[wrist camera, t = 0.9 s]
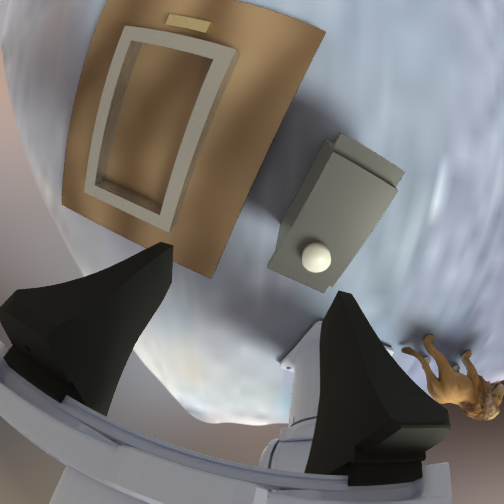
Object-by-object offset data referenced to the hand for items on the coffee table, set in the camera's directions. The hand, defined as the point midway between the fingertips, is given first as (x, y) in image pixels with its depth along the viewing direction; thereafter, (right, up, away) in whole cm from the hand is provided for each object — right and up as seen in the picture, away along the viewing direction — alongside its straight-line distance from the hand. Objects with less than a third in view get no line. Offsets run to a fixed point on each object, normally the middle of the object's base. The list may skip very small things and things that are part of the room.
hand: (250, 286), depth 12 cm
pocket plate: (-7, +11, +6) cm, 14 cm away
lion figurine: (+23, -10, +13) cm, 28 cm away
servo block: (+5, +5, +7) cm, 10 cm away
